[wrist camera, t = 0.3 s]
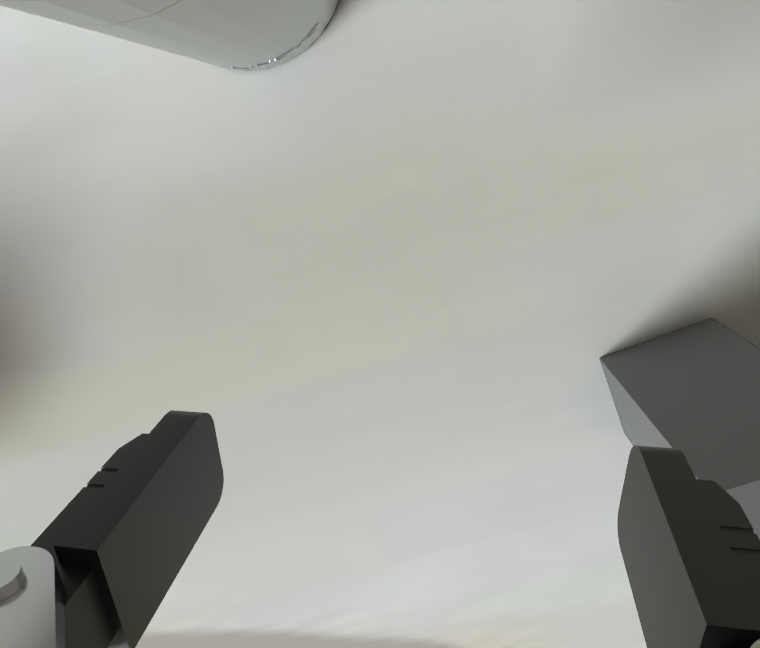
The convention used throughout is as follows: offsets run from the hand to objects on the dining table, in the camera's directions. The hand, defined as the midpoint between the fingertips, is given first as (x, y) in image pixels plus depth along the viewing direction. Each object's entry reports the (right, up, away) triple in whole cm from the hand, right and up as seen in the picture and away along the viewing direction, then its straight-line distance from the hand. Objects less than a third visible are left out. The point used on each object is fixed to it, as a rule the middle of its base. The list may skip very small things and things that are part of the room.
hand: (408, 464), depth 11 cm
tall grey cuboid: (+15, 0, +20) cm, 25 cm away
